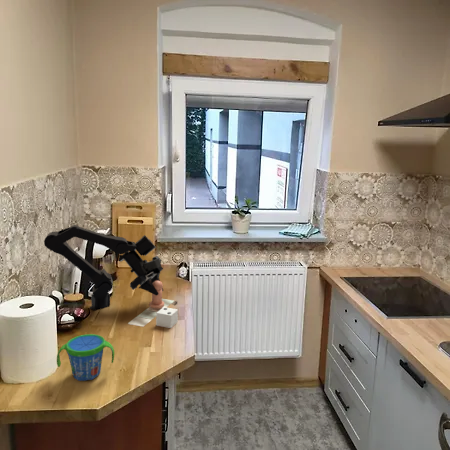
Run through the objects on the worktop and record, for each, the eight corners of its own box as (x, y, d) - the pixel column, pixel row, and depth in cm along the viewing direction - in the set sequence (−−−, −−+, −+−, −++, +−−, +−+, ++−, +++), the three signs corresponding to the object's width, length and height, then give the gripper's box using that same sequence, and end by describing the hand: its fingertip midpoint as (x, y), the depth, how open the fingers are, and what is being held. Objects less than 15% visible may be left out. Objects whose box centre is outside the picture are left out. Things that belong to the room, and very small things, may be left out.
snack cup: (52, 385, 107) (51, 351, 105) (64, 365, 117) (63, 333, 115) (110, 385, 108) (110, 351, 106) (117, 364, 118) (117, 333, 117)
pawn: (155, 309, 155) (156, 284, 153) (146, 304, 159) (146, 280, 157) (167, 305, 159) (167, 281, 158) (158, 301, 163) (158, 277, 162)
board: (146, 330, 142) (146, 327, 142) (124, 326, 144) (124, 323, 144) (177, 303, 168) (177, 301, 168) (158, 300, 171) (158, 297, 171)
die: (170, 330, 142) (171, 315, 141) (156, 328, 144) (156, 312, 143) (177, 324, 148) (177, 309, 147) (163, 321, 150) (163, 306, 149)
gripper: (137, 256, 148) (163, 288, 146) (159, 246, 165) (182, 275, 164) (119, 273, 151) (144, 305, 150) (142, 262, 169) (165, 290, 168)
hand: (160, 292), depth 158 cm, fingers closed on pawn, 4 cm apart
